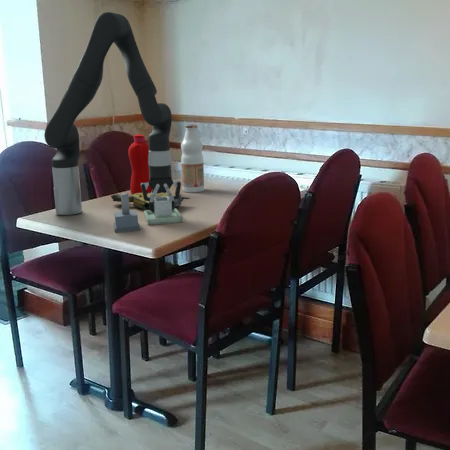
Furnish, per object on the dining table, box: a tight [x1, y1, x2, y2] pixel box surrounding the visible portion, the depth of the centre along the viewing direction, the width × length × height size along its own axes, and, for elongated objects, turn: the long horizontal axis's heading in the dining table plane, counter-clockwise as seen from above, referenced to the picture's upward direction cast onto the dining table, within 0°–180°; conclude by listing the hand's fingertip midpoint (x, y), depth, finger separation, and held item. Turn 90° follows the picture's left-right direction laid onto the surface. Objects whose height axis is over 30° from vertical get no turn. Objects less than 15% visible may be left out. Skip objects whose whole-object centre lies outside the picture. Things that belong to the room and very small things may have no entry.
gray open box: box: [153, 196, 172, 216], centre depth 198 cm, size 6×8×5 cm
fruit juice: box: [180, 124, 205, 194], centre depth 243 cm, size 9×9×28 cm
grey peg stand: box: [113, 192, 141, 233], centre depth 187 cm, size 8×8×12 cm
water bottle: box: [127, 133, 152, 196], centre depth 237 cm, size 9×11×25 cm
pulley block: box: [110, 192, 190, 211], centre depth 217 cm, size 14×6×30 cm
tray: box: [143, 207, 183, 226], centre depth 199 cm, size 12×14×2 cm
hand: (162, 211), depth 199 cm, fingers closed on gray open box, 5 cm apart
